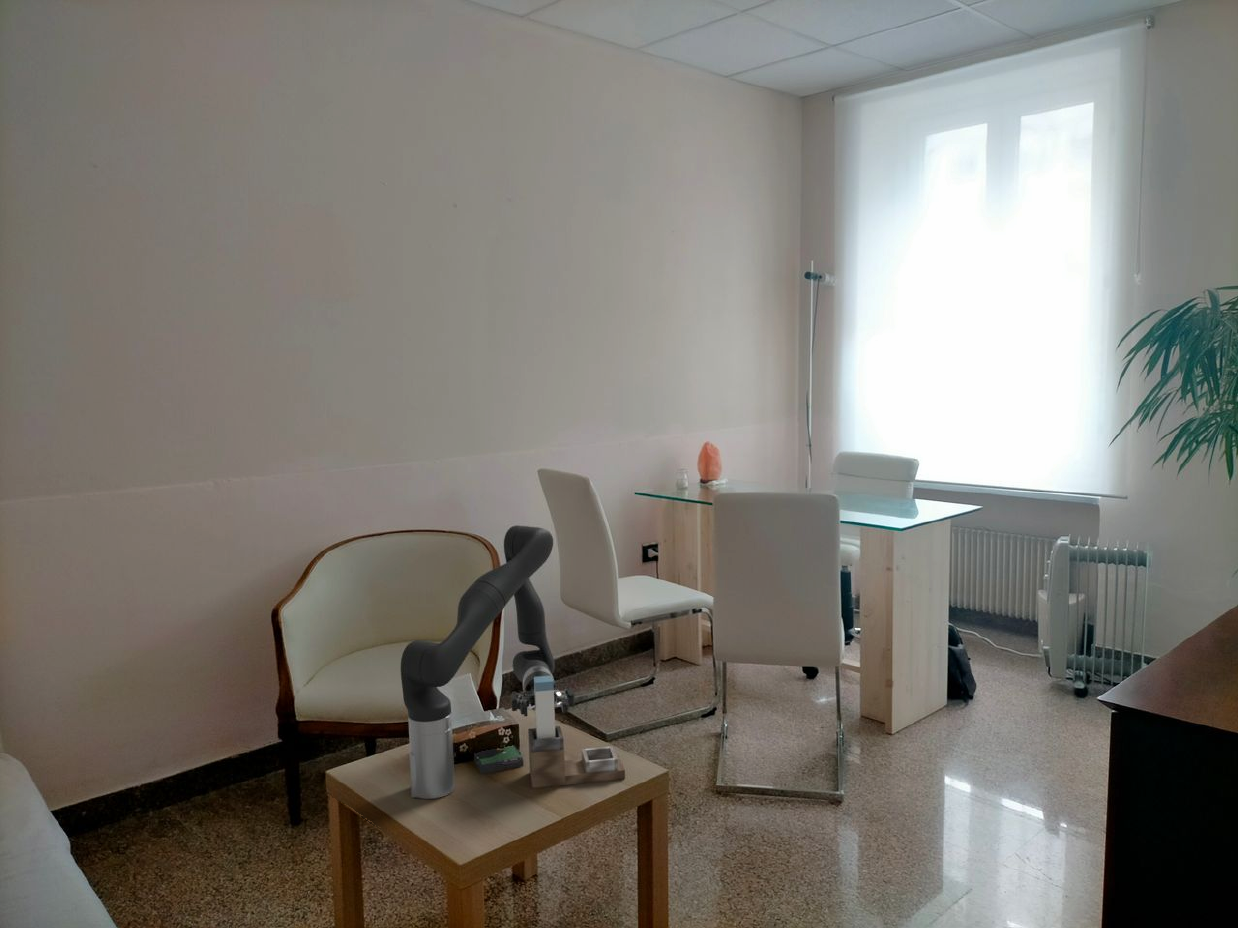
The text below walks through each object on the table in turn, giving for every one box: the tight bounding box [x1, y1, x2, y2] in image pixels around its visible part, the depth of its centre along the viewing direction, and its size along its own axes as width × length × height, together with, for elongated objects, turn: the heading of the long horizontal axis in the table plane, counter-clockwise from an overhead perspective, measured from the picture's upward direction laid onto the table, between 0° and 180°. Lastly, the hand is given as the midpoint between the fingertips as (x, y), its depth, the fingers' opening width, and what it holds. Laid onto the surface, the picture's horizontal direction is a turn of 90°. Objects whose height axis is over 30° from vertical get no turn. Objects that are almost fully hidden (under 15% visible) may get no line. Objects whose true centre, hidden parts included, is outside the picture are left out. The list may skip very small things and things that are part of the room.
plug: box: [534, 674, 556, 739], centre depth 208 cm, size 4×4×15 cm
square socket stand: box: [527, 725, 626, 789], centre depth 210 cm, size 21×8×10 cm, turn 100°
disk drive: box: [473, 744, 524, 775], centre depth 221 cm, size 10×3×15 cm
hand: (545, 710), depth 206 cm, fingers open, 8 cm apart
